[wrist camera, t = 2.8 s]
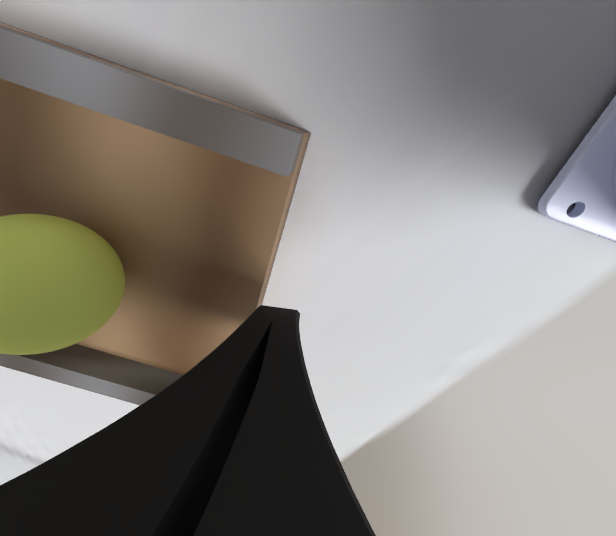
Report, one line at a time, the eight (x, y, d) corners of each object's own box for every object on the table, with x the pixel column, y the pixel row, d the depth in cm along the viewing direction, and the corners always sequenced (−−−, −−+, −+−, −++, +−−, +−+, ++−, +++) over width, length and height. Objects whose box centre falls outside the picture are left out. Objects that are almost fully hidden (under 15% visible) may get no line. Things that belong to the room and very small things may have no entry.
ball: (153, 222, 9) (30, 283, 5) (149, 314, 11) (57, 404, 7) (30, 182, 9) (-184, 218, 5) (48, 283, 10) (-100, 361, 7)
